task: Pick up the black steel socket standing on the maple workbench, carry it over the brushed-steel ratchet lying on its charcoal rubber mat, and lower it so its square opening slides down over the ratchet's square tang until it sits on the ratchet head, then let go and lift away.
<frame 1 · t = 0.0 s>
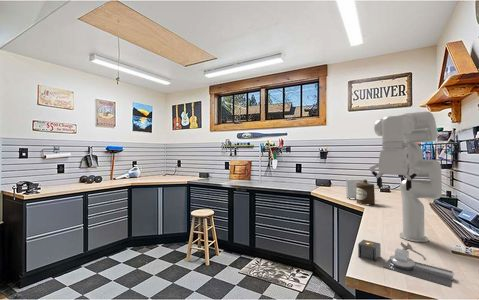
hand: (393, 188, 97), 31 cm above the countertop, fingers open, 9 cm apart
hard drive box: (355, 198, 243), on the countertop
wooden container: (365, 203, 219), on the countertop
pliers: (405, 251, 113), on the countertop
socket: (369, 256, 105), on the countertop
ratchet: (401, 265, 97), on the countertop
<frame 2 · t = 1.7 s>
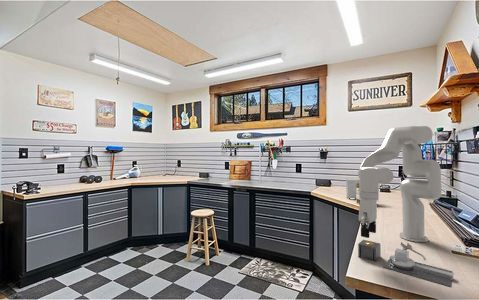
hand: (368, 234, 105), 10 cm above the countertop, fingers open, 9 cm apart
nothing on the countertop moved.
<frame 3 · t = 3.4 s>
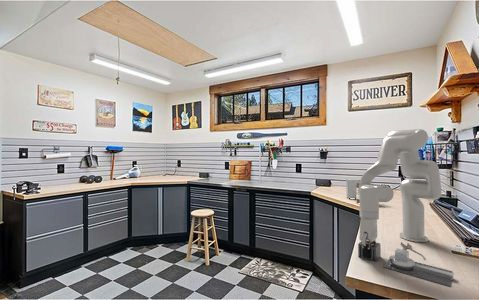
hand: (369, 254, 105), 1 cm above the countertop, fingers closed on socket, 7 cm apart
socket: (369, 256, 105), on the countertop, touching gripper
everything else where it was.
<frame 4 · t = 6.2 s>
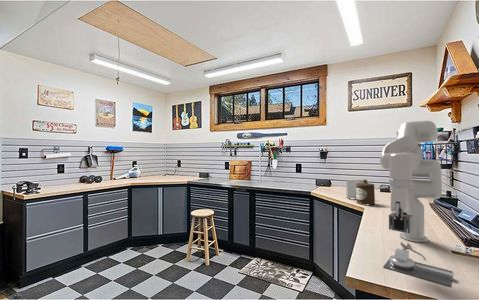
hand: (400, 227, 97), 16 cm above the countertop, fingers closed on socket, 7 cm apart
socket: (401, 229, 97), point 15 cm above the countertop, touching gripper
everything else where it was.
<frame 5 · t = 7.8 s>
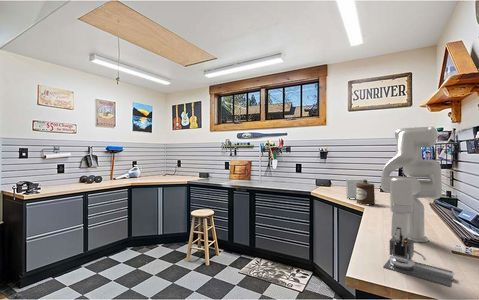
hand: (401, 252, 97), 5 cm above the countertop, fingers closed on socket, 7 cm apart
socket: (401, 254, 97), point 4 cm above the countertop, touching gripper
everything else where it was.
when the fingers open (4 cm above the countertop, at t = 9.0 s): socket stays where it is, resting on ratchet.
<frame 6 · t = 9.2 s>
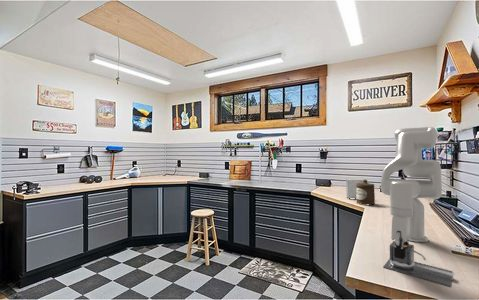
hand: (401, 254, 97), 5 cm above the countertop, fingers open, 8 cm apart
socket: (401, 259, 97), point 2 cm above the countertop, touching ratchet
everything else where it was.
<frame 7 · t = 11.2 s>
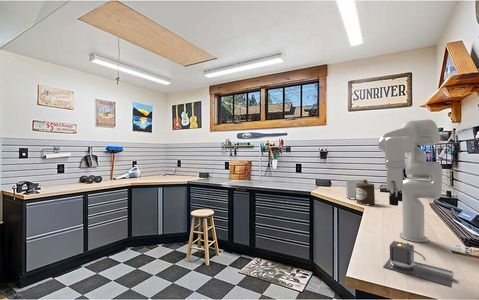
hand: (396, 203, 106), 23 cm above the countertop, fingers open, 9 cm apart
nothing on the countertop moved.
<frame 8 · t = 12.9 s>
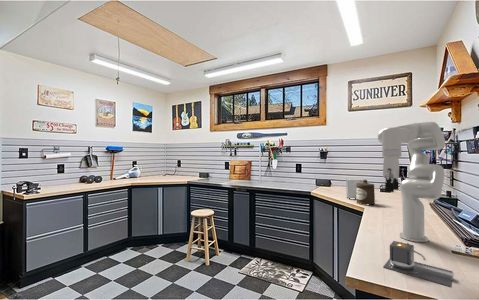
hand: (392, 190, 112), 28 cm above the countertop, fingers open, 9 cm apart
nothing on the countertop moved.
at the end: socket 0.1 cm off-centre on the ratchet, point 2.4 cm above the ratchet's base; socket tilted 0°; the gripper is holding nothing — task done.
